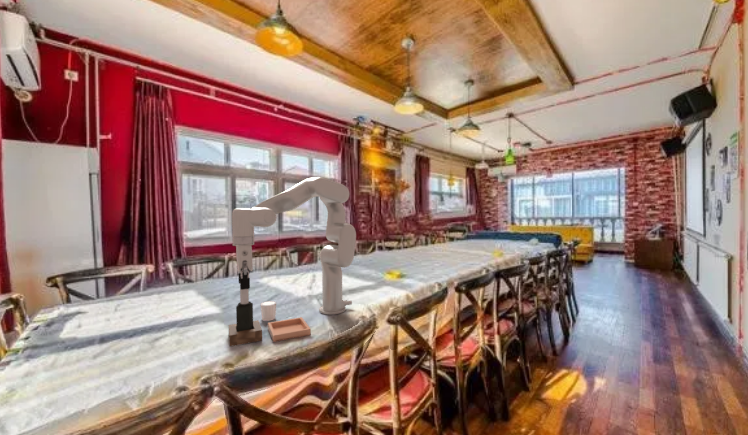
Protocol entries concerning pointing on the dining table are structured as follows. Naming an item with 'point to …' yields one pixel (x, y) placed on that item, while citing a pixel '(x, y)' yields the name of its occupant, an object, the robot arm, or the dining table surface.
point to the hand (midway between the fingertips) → (244, 285)
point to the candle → (244, 312)
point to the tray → (288, 329)
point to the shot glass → (268, 310)
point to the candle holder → (245, 334)
